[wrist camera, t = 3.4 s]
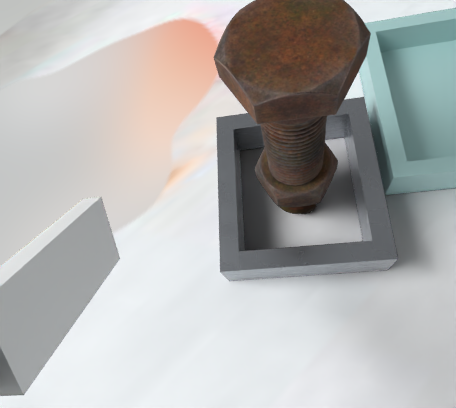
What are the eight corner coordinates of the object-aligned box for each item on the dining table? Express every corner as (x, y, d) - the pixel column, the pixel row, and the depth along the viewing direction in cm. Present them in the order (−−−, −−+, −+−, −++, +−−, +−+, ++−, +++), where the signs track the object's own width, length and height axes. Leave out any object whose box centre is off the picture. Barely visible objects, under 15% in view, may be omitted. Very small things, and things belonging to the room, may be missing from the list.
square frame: (358, 121, 29) (364, 96, 26) (387, 270, 24) (398, 259, 22) (224, 139, 30) (216, 117, 28) (229, 281, 26) (220, 271, 23)
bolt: (283, 153, 29) (263, -31, 15) (346, 176, 27) (388, -5, 14) (247, 217, 27) (191, 79, 14) (312, 247, 26) (321, 122, 12)
